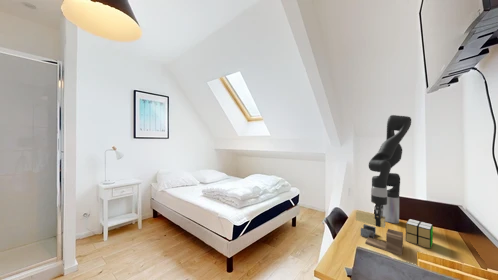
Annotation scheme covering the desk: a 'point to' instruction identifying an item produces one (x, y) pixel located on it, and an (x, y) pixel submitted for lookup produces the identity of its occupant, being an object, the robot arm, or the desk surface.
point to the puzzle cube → (419, 233)
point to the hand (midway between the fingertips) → (378, 225)
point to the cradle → (368, 231)
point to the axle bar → (369, 218)
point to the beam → (389, 242)
